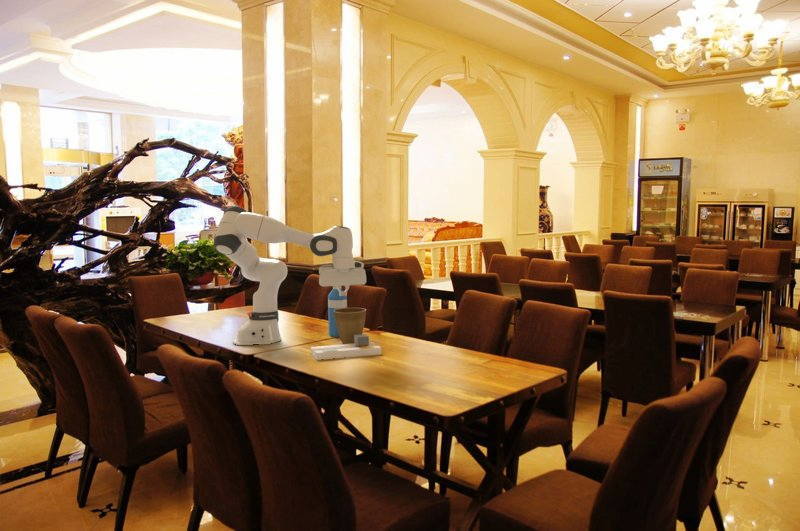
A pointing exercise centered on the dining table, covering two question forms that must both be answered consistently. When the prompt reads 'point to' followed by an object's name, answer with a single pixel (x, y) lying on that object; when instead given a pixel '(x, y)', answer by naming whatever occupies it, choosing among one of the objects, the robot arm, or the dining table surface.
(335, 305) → the water bottle
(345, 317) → the plant pot
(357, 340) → the switch knob
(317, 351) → the switch plate
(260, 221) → the robot arm
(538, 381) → the dining table surface
